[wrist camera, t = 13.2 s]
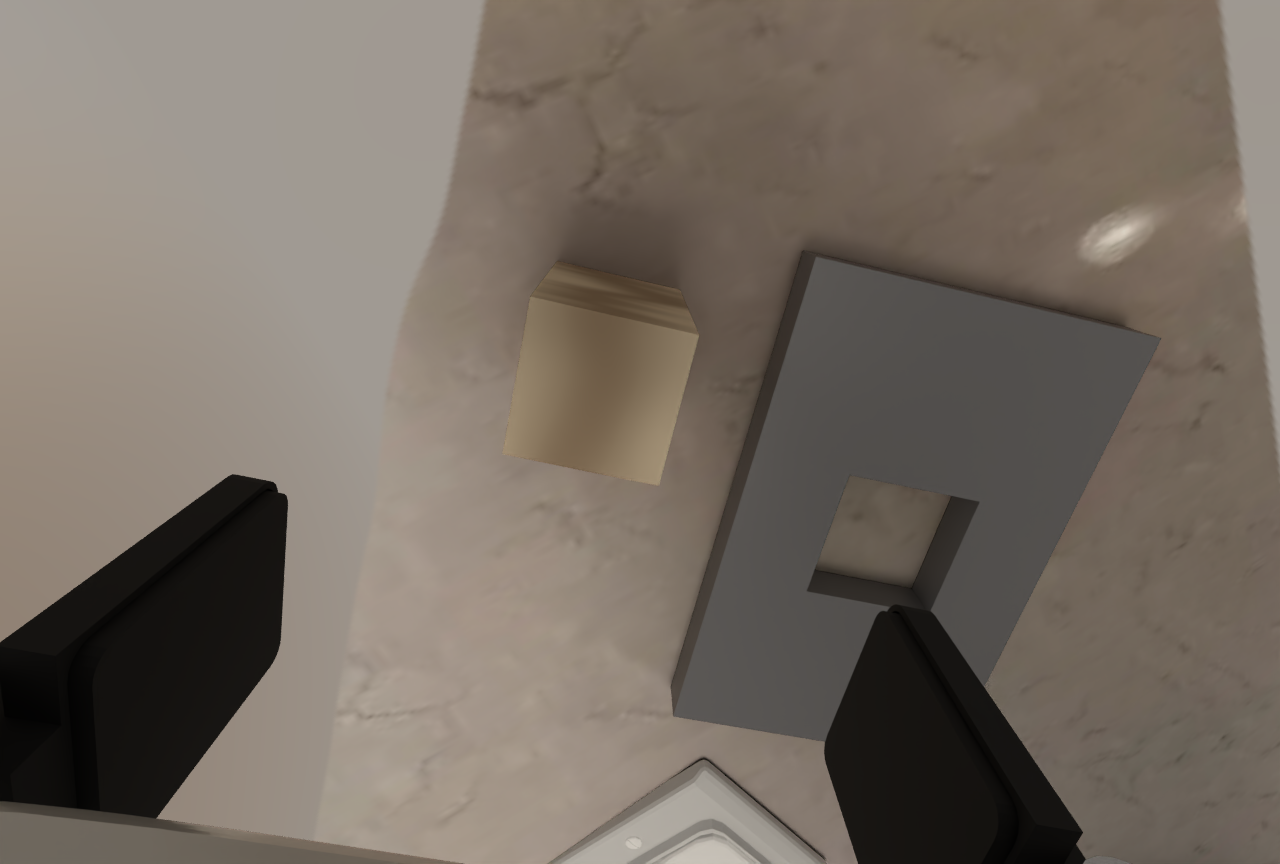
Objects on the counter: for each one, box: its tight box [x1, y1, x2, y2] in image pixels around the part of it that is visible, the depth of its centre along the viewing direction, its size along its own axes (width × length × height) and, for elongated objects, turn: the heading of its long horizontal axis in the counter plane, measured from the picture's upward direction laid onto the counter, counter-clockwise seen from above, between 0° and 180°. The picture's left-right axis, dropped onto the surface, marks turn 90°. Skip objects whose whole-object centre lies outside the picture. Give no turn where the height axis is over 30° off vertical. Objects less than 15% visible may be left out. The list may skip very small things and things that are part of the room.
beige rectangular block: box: [503, 261, 699, 486], centre depth 24 cm, size 5×5×8 cm
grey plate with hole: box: [671, 251, 1161, 742], centre depth 30 cm, size 14×22×2 cm, turn 167°
